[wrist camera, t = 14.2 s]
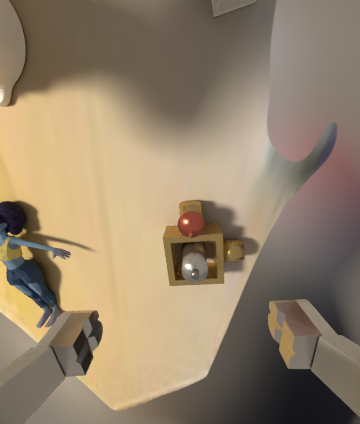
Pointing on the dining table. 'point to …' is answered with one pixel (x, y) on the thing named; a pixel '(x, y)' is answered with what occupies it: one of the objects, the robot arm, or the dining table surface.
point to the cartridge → (194, 261)
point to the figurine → (25, 261)
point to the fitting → (193, 232)
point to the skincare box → (228, 5)
